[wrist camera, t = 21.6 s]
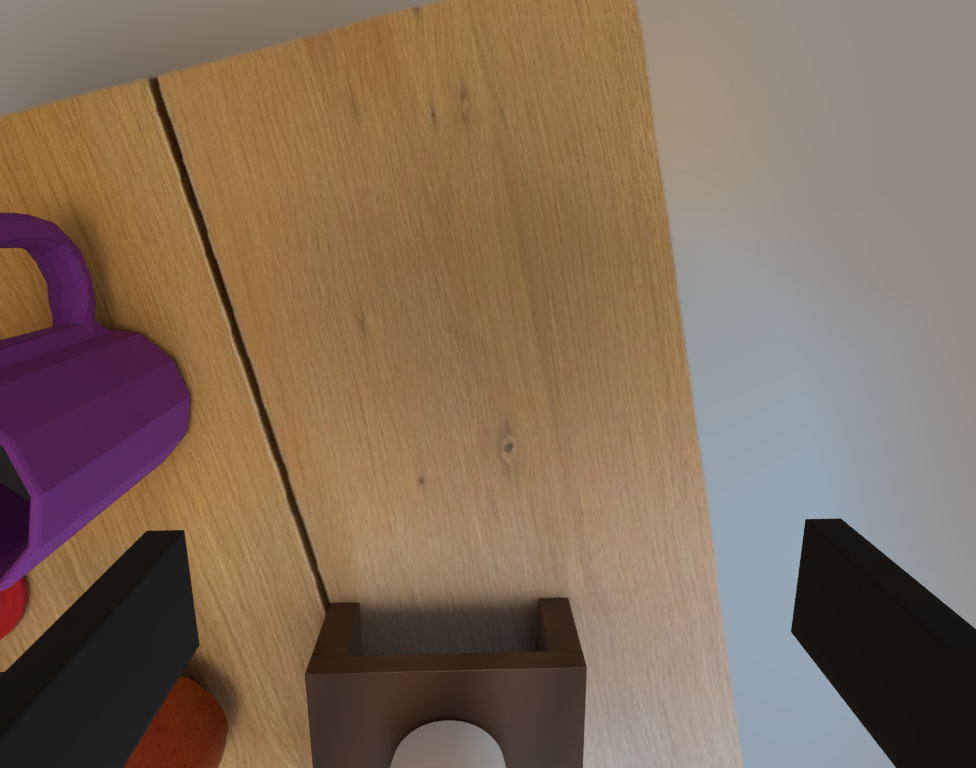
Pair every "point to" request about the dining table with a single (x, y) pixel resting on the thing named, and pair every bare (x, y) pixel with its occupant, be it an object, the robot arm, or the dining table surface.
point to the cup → (448, 747)
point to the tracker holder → (12, 606)
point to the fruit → (183, 731)
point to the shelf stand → (447, 695)
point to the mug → (74, 408)
